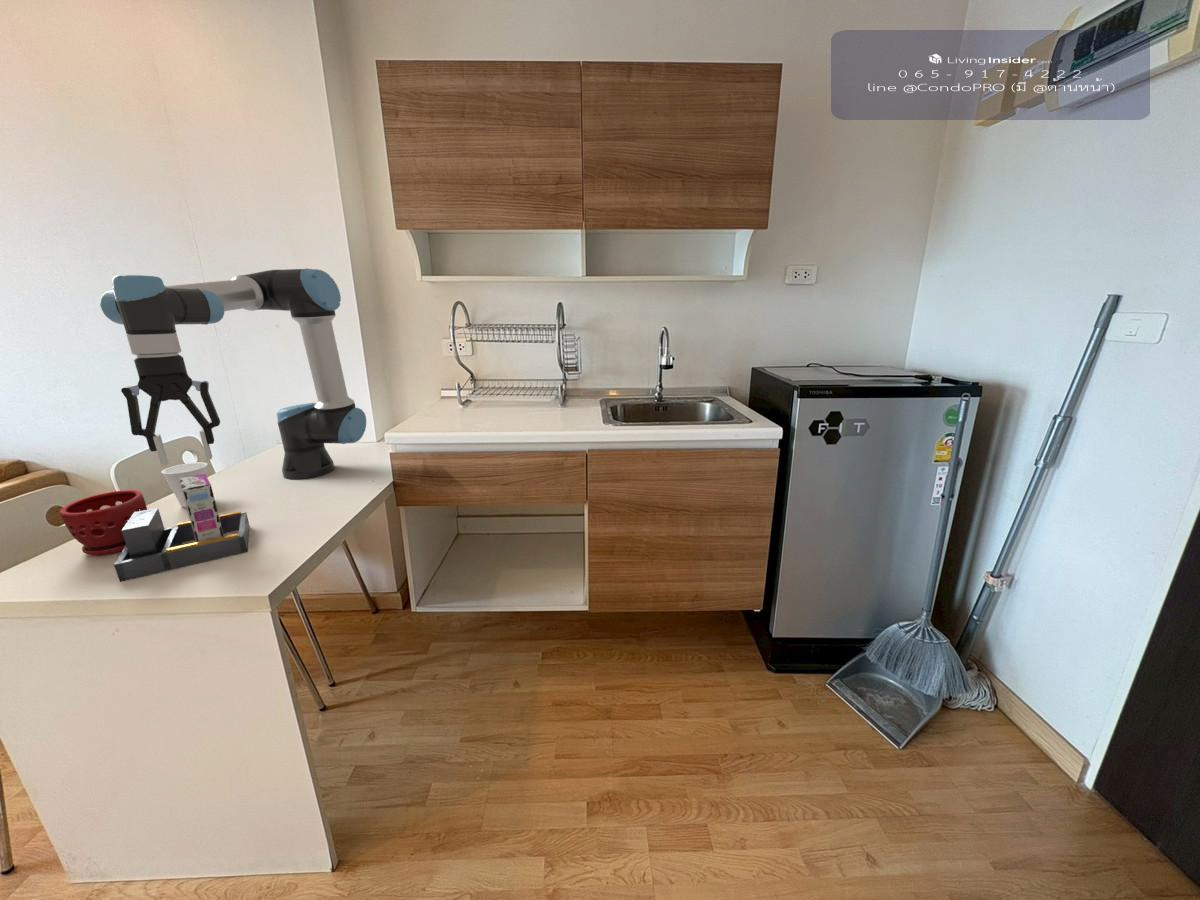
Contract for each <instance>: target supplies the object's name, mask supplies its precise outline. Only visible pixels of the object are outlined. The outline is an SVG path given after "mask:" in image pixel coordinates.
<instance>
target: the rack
mask: <svg viewBox="0 0 1200 900" xmlns="http://www.w3.org/2000/svg"><path fill="white" fill-rule="evenodd" d="M219 518H220V522H221V526H222V530H223V535H224V536H223V537H219V538H214V539H209V540H205V541H200V542H196V540H195V536H194V532H193V529H192V525H191V522H190V520H188V521H184V522H178V523H177V524H176V525H175V526H171V527H170V526H169V527H166V528H165V526H164V523H163V519H162V516H161V512H160V509H159V507H155V508H150V509H147V510H143V511H138V512H134V513H133V514H132V516H131V517H130V519H129V520H128V522H127V523H126V525H125V526H124V527H123V529H122V533H123V536H124V539H125V542H126V546H125V547H124V549H123V551H122V552H121V553H119V555H118V557H117V559H116V560H115V562H114V563H113V567H114V569H115V572H116V573H115V574H116V575H117V578H118V580H119V583H122V581H123V582H127V581H131V580H134V579H140V578H144V577H147V576H151V575H156V574H157V575H158V574H160V573H164V572H165V573H166V572H169V571H173V570H177V569H180V568H181V569H182V568H186V567H189V566H194V565H199V564H204V563H206V562H207V563H208V562H212V561H215V560H220V559H223V558H224V559H225V558H228V557H233V556H237V555H241V554H245V553H246V554H247V553H248V551H249V541H250V531H251V529H250V527H251V525H250V522H249V517H248V514H247V512H242V511H241V510H239V511H234V512H229V513H225V514H219ZM233 532H238V533H234V534H229V533H233ZM225 534H227V535H225ZM193 541H195V542H193ZM186 542H192V543H187V544H184V543H186ZM130 579H131V580H130ZM126 580H127V581H126Z"/></svg>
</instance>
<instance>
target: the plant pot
mask: <svg viewBox="0 0 1200 900" xmlns="http://www.w3.org/2000/svg"><path fill="white" fill-rule="evenodd" d="M117 502H118V504H117ZM119 502H120V503H119ZM104 506H106V508H102V507H104ZM107 506H108V507H107ZM89 510H90V511H89ZM143 510H148V507H147V504H146V500H145V498H144V495H143V494H142V492H141V491H139V490H136V489H135V490H134V489H131V490H130V489H129V490H128V489H127V490H126V489H125V490H115V491H109V492H104V493H103V492H102V493H99V494H96V495H91V496H88V497H85V498H82V499H78V500H76V501H73V502H71V503H69V504H67V505H65V506H63V507H62V508H61V509H60V510H59V514H60V517H61V520H62V521H63V523H64V525H65V527H66V528H67V530H68V532H69V534H70V535H71V536H72V537H73V539H75V540H76V541H77V542H79V544H81V545H82V548H81V551H82V553H83V554H85V555H87V556H92V557H93V556H94V557H104V556H112V555H117V554H121V552H122V551H123V549H124V547H125V546H126V542H125V539H124V536H123V533H122V529H123V527H124V526H125V525H126V523H127V522H128V520H129V519H130V517H131V516H132V514H133V513H134V512H138V511H143Z"/></svg>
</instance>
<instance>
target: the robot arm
mask: <svg viewBox="0 0 1200 900" xmlns="http://www.w3.org/2000/svg"><path fill="white" fill-rule="evenodd" d="M111 285H112V290H107V291H105V292H104V293H103V294H102V295H101V297H100V300H99V306H100V310H101V311H102V313H103V315H104V316H105V317H106V318H107V319H109V321H111V322H113V323H114V324H118V325H123V327H124V330H125V335H126V337H127V341H128V345H129V348H130V349H129V350H130V351H131V352H130V353H131V354H132V355H133V356H136V357H134V359H133V361H134V364H135V368H136V371H137V376H138V382H137V384H134V385H131V386H128V385H127V386H124V387H123V388H121V389H120V392H121V393H122V394H123V396H124V397H125V399H126V404H127V410H128V417H129V424H130V429H131V434H132V436H142V437H145V439H146V442H147V445H148V448H149V450H150V452H157V453H156V454H157V455H158V458H159V462H160V465H161V467H166V466H168V464H169V458H168V457H167V453H166V449H165V446H164V442H163V440H162V436H161V434H160V433H157V434H155V433H156V428H157V423H158V419H159V412H160V408H161V404H162V402H166V401H170V400H171V401H180V402H181V403H182V404H183V405H184V407H185V408H186V409H187V410H188V413H190V414H191V415H192V416H193V419H195V420H196V422H197V423H198V424H199V425H200V427H201V428H202V429H200V430H199V435H200V436H199V437H200V439H201V444H202V446H203V451H204V455H205V459H206V461H211V460H212V458H213V454H212V450H211V446H210V445H212V444H214V443H215V436H214V433H213V430H212V429H213V428H216V427H219V426H220V425H221V420H220V417H219V415H218V412H217V409H216V407H215V404H214V402H213V400H212V397H211V394H210V392H209V386H210V384H209V383H210V382H209V381H206V380H202V381H200V380H193V378H191V377H190V376H189V375H188V371H187V367H186V363H185V359H184V357H183V356H182V355H181V352H182V348H181V345H180V340H179V337H178V334H177V329H176V325H206V326H207V325H210V324H211V325H212V324H216V323H219V322H220V321H221V320H222V319H224V316H225V312H230V311H235V310H242V309H244V310H246V311H252V312H253V311H257V310H258V311H259V310H263V311H264V310H267V311H268V310H269V311H286V312H290V316H291V319H293V320H294V321H296V322H297V323H298V324H299V327H300V328H299V329H300V332H301V336H302V340H303V344H304V348H305V352H306V355H307V356H306V357H307V361H308V365H309V369H310V373H311V377H312V381H313V384H314V385H313V386H314V389H315V395H316V397H317V401H316V403H315V402H309V403H308V402H307V403H301V404H296V405H291V406H286V407H283V408H280V409H279V410H278V411H277V412H276V417H277V425H278V429H279V434H280V439H281V442H282V446H283V451H284V457H283V462H282V467H281V468H282V469H281V473H282V477H283V478H285V479H287V480H289V479H290V480H302V479H311V478H315V477H319V476H324V475H326V474H328V473H331V472H333V471H334V469H335V464H334V460H333V459H332V457H331V455H330V454H329V452H328V450H327V449H326V446H325V444H341V445H346V444H354V443H357V442H358V441H359V440H361V439H362V437H363V436H364V434H365V432H366V428H367V416H366V413H365V412H364V411H363V410H362V408H359V407H356V404H355V400H354V399H352V398H351V397H350V396H349V395H348V390H347V385H346V381H345V377H344V373H343V368H342V364H341V360H340V355H339V350H338V345H337V342H336V336H335V331H334V326H333V320H334V319H335V317H336V310H337V309H339V308H340V306H341V300H342V297H341V291H340V289H339V286H338V284H337V282H336V281H335V280H334V279H333V277H331V275H330V274H329V273H327V272H326V271H325V270H322V269H317V268H314V269H313V268H298V269H297V268H293V269H292V268H291V269H289V268H288V269H269V270H263V271H259V272H253V273H249V274H241V275H240V274H239V275H235V276H234V277H232V279H227V280H219V281H208V282H197V283H196V282H195V283H187V284H175V285H164V281H163V279H162V278H161V277H159V276H153V275H140V274H136V275H135V274H119V275H115V276H113V277H112V279H111ZM179 353H180V354H179ZM192 386H193V387H194V388H195V390H196V391H197V392H200V393H199V394H200V398H201V400H202V402H203V404H204V407H205V409H206V412H207V414H208V416H209V419H210V421H208V420H207V418H206V417H205V416H204V414H203V413H202V411H201V410H200V409H199V408H198V407H197V405H196V403H194V401H193V400H192V398H191V396H190V395H189V394H188V392H189V390H190V389H191V387H192ZM140 390H141V391H143V392H144V393H146V395H148V396H149V397H150V403H149V409H148V415H147V420H146V425H145V428H143V425H142V418H141V412H140V411H141V410H140V405H139V399H138V396H139V395H140Z"/></svg>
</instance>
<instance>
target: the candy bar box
mask: <svg viewBox="0 0 1200 900" xmlns="http://www.w3.org/2000/svg"><path fill="white" fill-rule="evenodd" d="M180 484H181V488H182V492H183V496H184V500H185V503H186V507H187V508H186V511H187V513H188V517H189V521H190V522H191V525H192V529H193V532H194V536H195V540H194V541H195V542H200V541H205V540H209V539H214V538H219V537H223V536H225V534H223V530H222V526H221V522H220V518H219V515H220V514H219V511H218V506H217V503H216V499H215V495H214V492H213V488H212V484H211V482H210V481H209V479H208V475H207V476H206V474H201V475H195V476H189V477H185V478H180Z"/></svg>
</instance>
